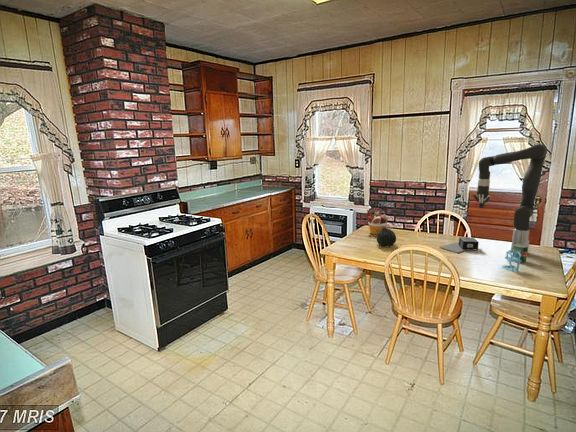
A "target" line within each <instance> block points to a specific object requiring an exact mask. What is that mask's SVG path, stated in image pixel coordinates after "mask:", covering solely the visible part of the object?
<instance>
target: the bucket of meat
mask: <svg viewBox="0 0 576 432" xmlns="http://www.w3.org/2000/svg"><path fill="white" fill-rule="evenodd" d="M365 216H366V219H365V220H366V221H367V223H368V227H369V228H368V229H369V233H371V234H372V235H376V236H377V234H378V233H379V231H380V230H381V229H382V228H383V227H384V228H387V224H388V221H389V216H388V215H386V214H385V213H384V214H382V213H380V211H377V212H374V215H373V214H372V212H371V211H370V210H369V209H367V210H366V213H365Z"/></svg>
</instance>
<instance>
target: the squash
mask: <svg viewBox="0 0 576 432" xmlns="http://www.w3.org/2000/svg"><path fill="white" fill-rule="evenodd" d="M376 242H377V244H378V245H379V246H382V247H388V248H389V247H390V246H393V245H394V244H395V243H396V242H397V236H396V233H395V232H394V231H393V230H392V229H390V228H388V227H386V228H384V227H383V228H382V229H381V230H380V231H379V233H378V234H377V235H376Z"/></svg>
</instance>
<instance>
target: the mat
mask: <svg viewBox="0 0 576 432" xmlns="http://www.w3.org/2000/svg"><path fill="white" fill-rule="evenodd" d="M439 249H441V250H445V251H448V252H452V253H454V254H461V253H464V252H467V251H469V250H468V249H462V248H461V247H460V246H459V241H458V242H456V241H455V242H452V243H449V244H444V245H442V246H439Z"/></svg>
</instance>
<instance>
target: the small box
mask: <svg viewBox="0 0 576 432" xmlns="http://www.w3.org/2000/svg"><path fill="white" fill-rule="evenodd" d="M458 243H459V246H460V247H461V248H462V249H468V250H467V251H470V250H471V251H478V249H479V243H480V242H479V241H478V240H477V239H476V238H474V237H466V236H465V237H463V236H461V237H459V238H458Z"/></svg>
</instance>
